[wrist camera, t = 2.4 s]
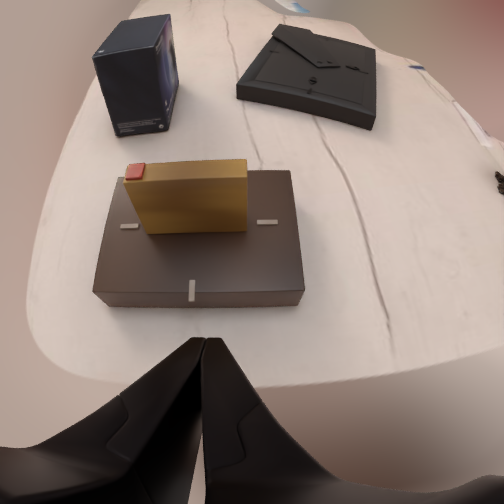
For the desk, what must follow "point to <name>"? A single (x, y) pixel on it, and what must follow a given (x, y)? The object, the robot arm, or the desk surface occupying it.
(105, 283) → the plate
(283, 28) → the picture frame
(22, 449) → the robot arm
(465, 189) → the desk surface
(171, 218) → the yellow rectangular slab
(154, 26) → the small box
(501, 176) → the dinosaur model
